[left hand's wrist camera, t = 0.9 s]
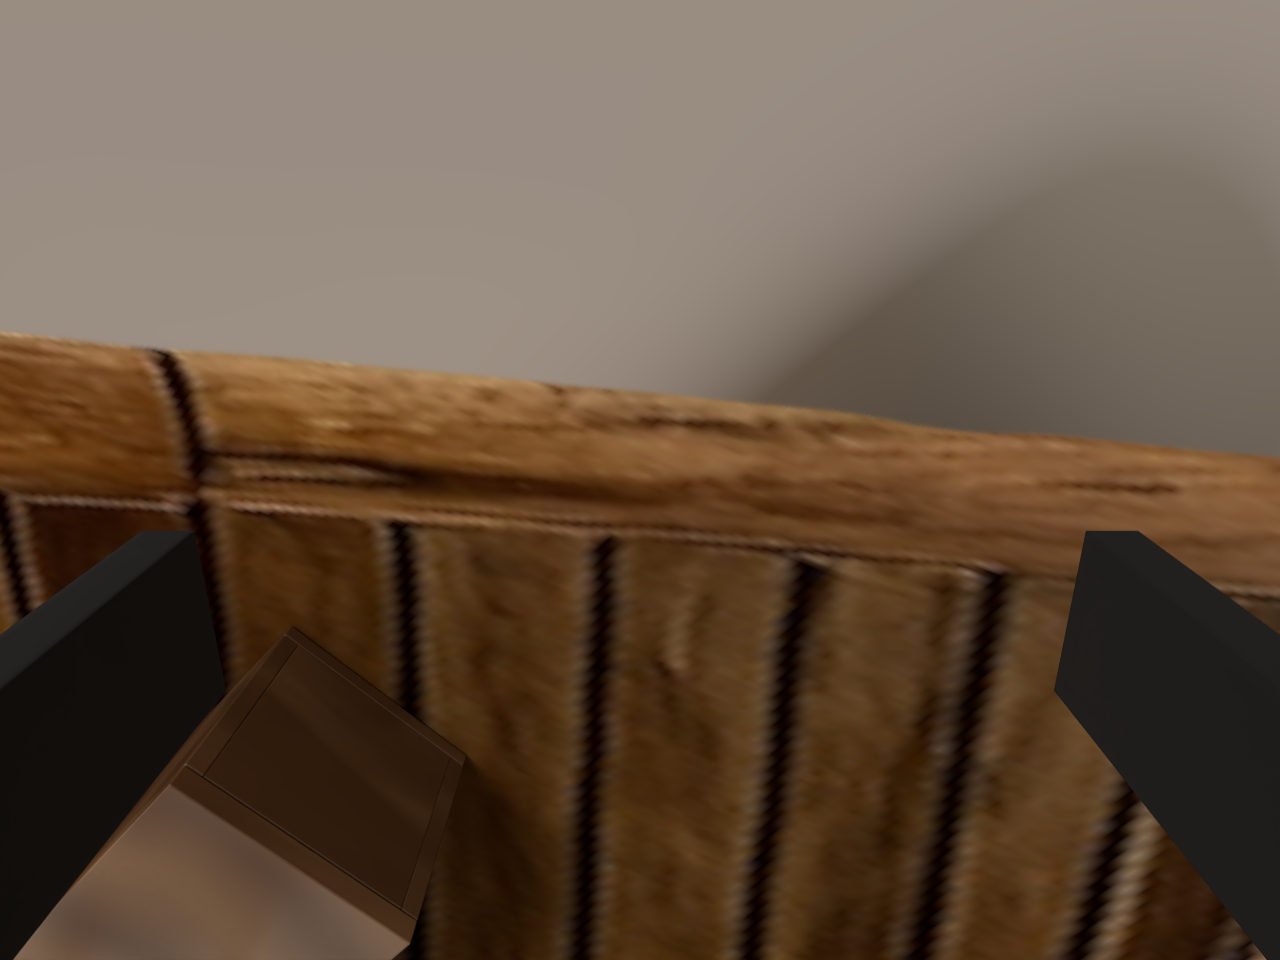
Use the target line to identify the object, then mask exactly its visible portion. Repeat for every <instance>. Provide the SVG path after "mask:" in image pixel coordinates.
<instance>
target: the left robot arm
mask: <svg viewBox="0 0 1280 960" xmlns="http://www.w3.org/2000/svg"><path fill="white" fill-rule="evenodd" d="M225 691H226V688H225V683H224V678H223V673H222V668H221V663H220V658H219V653H218V648H217V643H216V638H215V633H214V628H213V623H212V618H211V613H210V608H209V603H208V598H207V593H206V588H205V583H204V578H203V573H202V568H201V563H200V558H199V553H198V548H197V543H196V538H195V533H194V531H141V532H140V533H139V534H137V535H136V536H134V537H133V538H132V539H130V540H129V541H128V542H126V543H125V544H124V545H122V546H121V547H119V548H118V549H117V550H115V551H114V552H113V553H111V554H110V555H109V556H107V557H106V558H104V559H103V560H102V561H100V562H99V563H98V564H96V565H95V566H93V567H92V568H91V569H89V570H88V571H87V572H85V573H84V574H83V575H81V576H80V577H78V578H77V579H76V580H74V581H73V582H72V583H70V584H69V585H68V586H66V587H65V588H63V589H62V590H61V591H59V592H58V593H57V594H55V595H54V596H53V597H51V598H50V599H48V600H47V601H46V602H44V603H43V604H42V605H40V606H39V607H38V608H36V609H35V610H33V611H32V612H31V613H29V614H28V615H27V616H25V617H24V618H23V619H21V620H20V621H18V622H17V623H16V624H14V625H13V626H12V627H10V628H9V629H8V630H6V631H5V632H3V633H2V634H1V635H0V960H13V959H14V958H15V957H16V956H17V954H18V953H19V952H20V951H21V949H22V948H23V947H24V945H25V944H26V943H27V942H28V940H29V939H30V938H31V937H32V935H33V934H34V933H35V932H36V930H37V929H38V928H39V926H40V925H41V924H42V923H43V921H44V920H45V919H46V918H47V916H48V915H49V914H50V913H51V911H52V910H53V909H54V907H55V906H56V905H57V904H58V902H59V901H60V900H61V899H62V897H63V896H64V895H65V894H66V892H67V891H68V890H69V888H70V887H71V886H72V885H73V883H74V882H75V881H76V880H77V878H78V877H79V876H80V875H81V873H82V872H83V871H84V869H85V868H86V867H87V866H88V864H89V863H90V862H91V861H92V859H93V858H94V857H95V856H96V854H97V853H98V852H99V850H100V849H101V848H102V847H103V845H104V844H105V843H106V842H107V840H108V839H109V838H110V837H111V835H112V834H113V833H114V831H115V830H116V829H117V828H118V826H119V825H120V824H121V823H122V821H123V820H124V819H125V818H126V816H127V815H128V814H129V813H130V811H131V810H132V809H133V807H134V806H135V805H136V804H137V802H138V801H139V800H140V799H141V797H142V796H143V795H144V794H145V792H146V791H147V790H148V788H149V787H150V786H151V785H152V783H153V782H154V781H155V780H156V778H157V777H158V776H159V775H160V773H161V772H162V771H163V769H164V768H165V767H166V766H167V764H168V763H169V762H170V761H171V759H172V758H173V757H174V756H175V754H176V753H177V752H178V750H179V749H180V748H181V747H182V745H183V744H184V743H185V742H186V740H187V739H188V738H189V737H190V735H191V734H192V733H193V731H194V730H195V729H196V728H197V726H198V725H199V724H200V723H201V721H202V720H203V719H204V718H205V716H206V715H207V714H208V712H209V711H210V710H211V709H212V707H213V706H214V705H215V704H216V702H217V701H218V700H219V699H220V697H221V696H222V695H223V693H224V692H225ZM1054 691H1055V692H1056V693H1057V695H1058V696H1059V697H1060V699H1061V700H1062V701H1063V702H1064V704H1065V705H1066V706H1067V707H1068V709H1069V710H1070V711H1071V712H1072V714H1073V715H1074V716H1075V718H1076V719H1077V720H1078V721H1079V723H1080V724H1081V725H1082V726H1083V728H1084V729H1085V730H1086V731H1087V733H1088V734H1089V735H1090V737H1091V738H1092V739H1093V740H1094V742H1095V743H1096V744H1097V745H1098V747H1099V748H1100V749H1101V750H1102V752H1103V753H1104V754H1105V756H1106V757H1107V758H1108V759H1109V761H1110V762H1111V763H1112V764H1113V766H1114V767H1115V768H1116V769H1117V771H1118V772H1119V773H1120V775H1121V776H1122V777H1123V778H1124V780H1125V781H1126V782H1127V783H1128V785H1129V786H1130V787H1131V788H1132V790H1133V791H1134V792H1135V794H1136V795H1137V796H1138V797H1139V799H1140V800H1141V801H1142V802H1143V804H1144V805H1145V806H1146V807H1147V809H1148V810H1149V811H1150V813H1151V814H1152V815H1153V816H1154V818H1155V819H1156V820H1157V821H1158V823H1159V824H1160V825H1161V826H1162V828H1163V829H1164V830H1165V831H1166V833H1167V834H1168V835H1169V837H1170V838H1171V839H1172V840H1173V842H1174V843H1175V844H1176V845H1177V847H1178V848H1179V849H1180V850H1181V852H1182V853H1183V854H1184V856H1185V857H1186V858H1187V859H1188V861H1189V862H1190V863H1191V864H1192V866H1193V867H1194V868H1195V869H1196V871H1197V872H1198V873H1199V875H1200V876H1201V877H1202V878H1203V880H1204V881H1205V882H1206V883H1207V885H1208V886H1209V887H1210V888H1211V890H1212V891H1213V892H1214V894H1215V895H1216V896H1217V897H1218V899H1219V900H1220V901H1221V902H1222V904H1223V905H1224V906H1225V907H1226V909H1227V910H1228V911H1229V913H1230V914H1231V915H1232V916H1233V918H1234V919H1235V920H1236V921H1237V923H1238V924H1239V925H1240V926H1241V928H1242V929H1243V930H1244V932H1245V933H1246V934H1247V935H1248V937H1249V938H1250V939H1251V940H1252V942H1253V943H1254V944H1255V945H1256V947H1257V948H1258V949H1259V951H1260V952H1261V953H1262V954H1263V956H1264V957H1265V958H1266V959H1267V960H1280V635H1279V634H1278V633H1277V632H1275V631H1274V630H1272V629H1271V628H1270V627H1268V626H1267V625H1266V624H1264V623H1263V622H1262V621H1260V620H1259V619H1257V618H1256V617H1255V616H1253V615H1252V614H1251V613H1249V612H1248V611H1247V610H1245V609H1244V608H1242V607H1241V606H1240V605H1238V604H1237V603H1236V602H1234V601H1233V600H1232V599H1230V598H1229V597H1227V596H1226V595H1225V594H1223V593H1222V592H1221V591H1219V590H1218V589H1217V588H1215V587H1214V586H1212V585H1211V584H1210V583H1208V582H1207V581H1206V580H1204V579H1203V578H1202V577H1200V576H1199V575H1197V574H1196V573H1195V572H1193V571H1192V570H1191V569H1189V568H1188V567H1187V566H1185V565H1184V564H1182V563H1181V562H1180V561H1178V560H1177V559H1176V558H1174V557H1173V556H1171V555H1170V554H1169V553H1167V552H1166V551H1165V550H1163V549H1162V548H1161V547H1159V546H1158V545H1156V544H1155V543H1154V542H1152V541H1151V540H1150V539H1148V538H1147V537H1146V536H1144V535H1143V534H1141V533H1140V532H1139V531H1086V533H1085V538H1084V543H1083V548H1082V553H1081V558H1080V563H1079V568H1078V573H1077V578H1076V583H1075V588H1074V593H1073V598H1072V603H1071V608H1070V613H1069V618H1068V623H1067V628H1066V633H1065V638H1064V643H1063V648H1062V653H1061V658H1060V663H1059V668H1058V673H1057V678H1056V683H1055V688H1054Z"/></svg>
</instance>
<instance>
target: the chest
mask: <svg viewBox="0 0 1280 960" xmlns="http://www.w3.org/2000/svg"><path fill="white" fill-rule="evenodd" d="M465 758H466V755H465V754H463V753H462V752H461V751H459V750H458V749H456V748H455V747H454V746H452V745H451V744H450V743H448V742H447V741H446V740H444V739H443V738H442V737H440V736H439V735H438V734H436V733H435V732H434V731H432V730H431V729H430V728H428V727H427V726H425V725H424V724H423V723H421V722H420V721H419V720H417V719H416V718H415V717H413V716H412V715H411V714H409V713H408V712H407V711H405V710H404V709H403V708H401V707H400V706H399V705H397V704H396V703H394V702H393V701H392V700H390V699H389V698H388V697H386V696H385V695H384V694H382V693H381V692H380V691H378V690H377V689H376V688H374V687H373V686H372V685H370V684H369V683H368V682H366V681H365V680H363V679H362V678H361V677H359V676H358V675H357V674H355V673H354V672H353V671H351V670H350V669H349V668H347V667H346V666H345V665H343V664H342V663H341V662H339V661H338V660H337V659H335V658H334V657H332V656H331V655H330V654H328V653H327V652H326V651H324V650H323V649H322V648H320V647H319V646H318V645H316V644H315V643H314V642H312V641H311V640H310V639H308V638H307V637H306V636H304V635H303V634H301V633H300V632H299V631H297V630H296V629H295V628H293V627H292V626H291V627H289V628H288V629H287V631H286V632H285V633H284V634H283V635H282V636H281V637H280V638H279V639H278V640H277V641H276V642H275V643H274V645H273V646H272V647H271V648H270V649H269V650H268V651H267V652H266V653H265V654H264V655H263V656H262V658H261V659H260V660H259V661H258V662H257V663H256V664H255V665H254V666H253V667H252V668H251V669H250V671H249V672H248V673H247V674H246V675H245V676H244V677H243V678H242V679H241V680H240V681H239V682H238V683H237V685H236V686H235V687H234V688H233V689H232V690H231V691H230V692H229V693H228V694H227V695H226V696H225V698H224V699H223V700H222V701H221V702H220V703H219V704H218V705H217V706H216V707H215V708H214V709H213V711H212V712H211V713H210V714H209V715H208V716H207V717H206V718H205V719H204V720H203V721H202V722H201V723H200V725H199V726H198V727H197V728H196V729H195V730H194V731H193V733H192V734H191V735H190V737H189V738H188V739H187V740H186V742H185V743H184V744H183V745H182V747H181V748H180V749H179V750H178V752H177V753H176V754H175V756H174V757H173V758H172V759H171V761H170V762H169V763H168V764H167V766H166V767H165V768H164V769H163V771H162V772H161V773H160V775H159V776H158V777H157V778H156V780H155V781H154V782H153V783H152V785H151V786H150V787H149V788H148V790H147V791H146V792H145V794H144V795H143V796H142V797H141V799H140V800H139V801H138V802H137V804H136V805H135V806H134V807H133V809H132V810H131V811H130V813H129V814H128V815H127V816H126V818H125V819H124V820H123V821H122V823H121V824H120V825H119V826H118V828H117V829H116V830H115V831H114V833H113V834H112V835H111V837H110V838H109V839H108V840H107V842H106V843H105V844H104V845H103V847H102V848H101V849H100V850H99V852H98V853H97V854H96V856H95V857H94V858H93V859H92V861H91V862H90V863H89V864H88V866H87V867H86V868H85V869H84V871H85V870H86V869H87V868H88V867H89V866H90V865H91V864H92V863H93V862H94V861H95V859H96V858H97V857H98V856H99V855H100V854H101V853H102V852H103V851H104V850H105V849H106V848H107V847H108V846H109V845H110V843H111V842H112V841H113V840H114V839H115V838H116V837H117V836H118V835H119V834H120V833H121V832H122V831H123V830H124V828H125V827H126V826H127V825H128V824H129V823H130V822H131V821H132V820H133V819H134V818H135V817H136V816H137V815H138V814H139V812H140V811H141V810H142V809H143V808H144V807H145V806H146V805H147V804H148V803H149V802H150V801H151V800H152V799H153V798H154V796H155V795H156V794H157V793H158V792H159V791H160V790H161V789H162V788H163V787H164V786H165V785H166V784H167V783H168V781H169V780H170V779H171V778H172V777H173V776H174V775H175V774H176V773H177V772H178V771H179V770H180V769H181V768H182V767H183V766H186V767H187V768H189V769H190V770H192V771H193V772H195V773H196V774H198V775H199V776H201V777H202V778H204V779H205V780H207V781H208V782H210V783H211V784H213V785H214V786H216V787H217V788H219V789H220V790H222V791H223V792H224V793H226V794H227V795H229V796H230V797H232V798H233V799H235V800H236V801H238V802H239V803H241V804H242V805H244V806H245V807H247V808H248V809H250V810H251V811H253V812H254V813H256V814H257V815H259V816H260V817H262V818H263V819H265V820H266V821H268V822H269V823H271V824H272V825H274V826H275V827H277V828H278V829H280V830H281V831H283V832H284V833H286V834H287V835H289V836H290V837H292V838H293V839H295V840H296V841H298V842H299V843H301V844H302V845H304V846H305V847H307V848H308V849H310V850H311V851H313V852H314V853H316V854H317V855H319V856H320V857H322V858H323V859H325V860H326V861H328V862H329V863H330V864H332V865H333V866H335V867H336V868H338V869H339V870H341V871H342V872H344V873H345V874H347V875H348V876H350V877H351V878H353V879H354V880H356V881H357V882H359V883H360V884H362V885H363V886H365V887H366V888H368V889H369V890H371V891H372V892H374V893H375V894H377V895H378V896H380V897H381V898H383V899H384V900H386V901H387V902H389V903H390V904H392V905H393V906H395V907H396V908H398V909H399V910H401V911H402V912H404V913H405V914H407V915H408V916H410V917H411V918H413V919H414V920H417V919H418V916H419V913H420V910H421V906H422V903H423V899H424V896H425V893H426V889H427V886H428V883H429V879H430V876H431V873H432V869H433V866H434V863H435V859H436V856H437V853H438V849H439V846H440V842H441V839H442V836H443V832H444V829H445V826H446V822H447V819H448V816H449V812H450V809H451V806H452V802H453V799H454V795H455V792H456V789H457V785H458V782H459V779H460V775H461V772H462V769H463V765H464V761H465ZM84 871H83V872H84ZM83 872H82V873H83ZM82 873H81V874H82ZM80 876H81V875H80ZM80 876H79V877H80ZM79 877H78V878H79ZM78 878H77V879H78Z"/></svg>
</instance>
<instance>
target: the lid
mask: <svg viewBox="0 0 1280 960" xmlns="http://www.w3.org/2000/svg"><path fill="white" fill-rule="evenodd" d="M416 923H417V922H416V920H414V919H413V918H411V917H410V916H408V915H407V914H405V913H404V912H402V911H401V910H399V909H398V908H396V907H395V906H393V905H392V904H390V903H389V902H387V901H386V900H384V899H383V898H381V897H380V896H378V895H377V894H375V893H374V892H372V891H371V890H369V889H368V888H366V887H365V886H363V885H362V884H360V883H359V882H357V881H356V880H354V879H353V878H351V877H350V876H348V875H347V874H345V873H344V872H342V871H341V870H339V869H338V868H336V867H335V866H333V865H332V864H330V863H329V862H328V861H326V860H325V859H323V858H322V857H320V856H319V855H317V854H316V853H314V852H313V851H311V850H310V849H308V848H307V847H305V846H304V845H302V844H301V843H299V842H298V841H296V840H295V839H293V838H292V837H290V836H289V835H287V834H286V833H284V832H283V831H281V830H280V829H278V828H277V827H275V826H274V825H272V824H271V823H269V822H268V821H266V820H265V819H263V818H262V817H260V816H259V815H257V814H256V813H254V812H253V811H251V810H250V809H248V808H247V807H245V806H244V805H242V804H241V803H239V802H238V801H236V800H235V799H233V798H232V797H230V796H229V795H227V794H226V793H224V792H223V791H222V790H220V789H219V788H217V787H216V786H214V785H213V784H211V783H210V782H208V781H207V780H205V779H204V778H202V777H201V776H199V775H198V774H196V773H195V772H193V771H192V770H190V769H189V768H187V767H186V766H183V767H182V768H181V769H180V770H179V771H178V772H177V773H176V774H175V775H174V776H173V777H172V778H171V779H170V780H169V781H168V783H167V784H166V785H165V786H164V787H163V788H162V789H161V790H160V791H159V792H158V793H157V794H156V795H155V796H154V798H153V799H152V800H151V801H150V802H149V803H148V804H147V805H146V806H145V807H144V808H143V809H142V810H141V811H140V812H139V814H138V815H137V816H136V817H135V818H134V819H133V820H132V821H131V822H130V823H129V824H128V825H127V826H126V827H125V828H124V830H123V831H122V832H121V833H120V834H119V835H118V836H117V837H116V838H115V839H114V840H113V841H112V842H111V843H110V845H109V846H108V847H107V848H106V849H105V850H104V851H103V852H102V853H101V854H100V855H99V856H98V857H97V858H96V859H95V861H94V862H93V863H92V864H91V865H90V866H89V867H88V868H87V869H86V870H85V871H84V872H83V873H82V874H81V876H80V877H79V878H78V879H77V880H76V881H75V882H74V883H73V885H72V886H71V887H70V888H69V890H68V891H67V892H66V894H65V895H64V896H63V897H62V899H61V900H60V901H59V902H58V904H57V905H56V906H55V907H54V909H53V910H52V911H51V913H50V914H49V915H48V916H47V918H46V919H45V920H44V921H43V923H42V924H41V925H40V926H39V928H38V929H37V930H36V932H35V933H34V934H33V935H32V937H31V938H30V939H29V940H28V942H27V943H26V944H25V945H24V947H23V948H22V949H21V951H20V952H19V953H18V954H17V956H16V957H15V958H14V959H13V960H392V959H393V958H394V957H396V956H397V955H398V954H399V953H400V952H401V951H402V950H404V949H405V948H406V947H407V946H408V945H409V944H410V943H411V939H412V936H413V933H414V929H415V926H416Z"/></svg>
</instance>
